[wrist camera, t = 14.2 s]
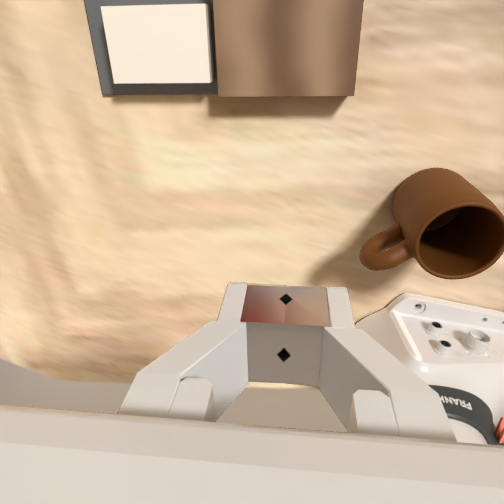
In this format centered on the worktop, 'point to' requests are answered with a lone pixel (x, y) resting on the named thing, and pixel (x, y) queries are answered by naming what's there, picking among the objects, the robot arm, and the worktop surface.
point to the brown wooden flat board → (287, 47)
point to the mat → (109, 88)
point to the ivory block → (159, 43)
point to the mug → (439, 227)
